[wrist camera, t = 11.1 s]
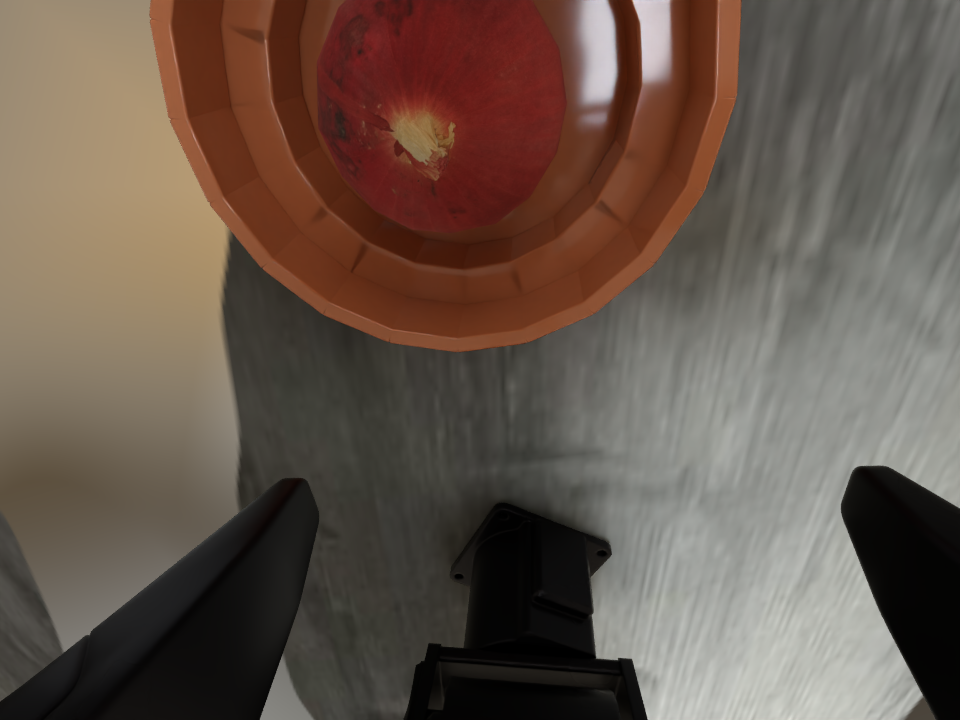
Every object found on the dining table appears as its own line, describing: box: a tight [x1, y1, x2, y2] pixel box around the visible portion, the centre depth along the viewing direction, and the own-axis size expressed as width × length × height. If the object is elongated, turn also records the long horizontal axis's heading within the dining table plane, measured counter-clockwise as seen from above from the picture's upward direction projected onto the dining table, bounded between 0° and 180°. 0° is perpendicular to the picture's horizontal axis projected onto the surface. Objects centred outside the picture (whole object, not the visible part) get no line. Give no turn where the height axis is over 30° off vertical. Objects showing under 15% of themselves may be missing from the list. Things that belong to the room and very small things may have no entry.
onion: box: [317, 0, 567, 233], centre depth 12 cm, size 6×6×8 cm
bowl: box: [150, 0, 742, 352], centre depth 14 cm, size 13×13×5 cm
